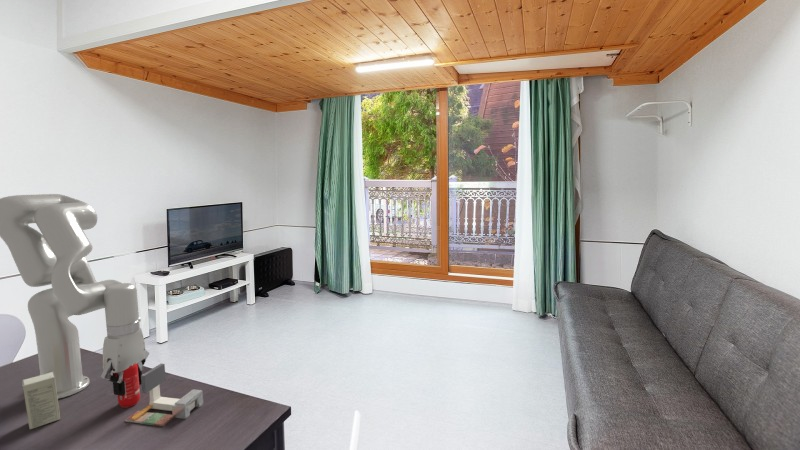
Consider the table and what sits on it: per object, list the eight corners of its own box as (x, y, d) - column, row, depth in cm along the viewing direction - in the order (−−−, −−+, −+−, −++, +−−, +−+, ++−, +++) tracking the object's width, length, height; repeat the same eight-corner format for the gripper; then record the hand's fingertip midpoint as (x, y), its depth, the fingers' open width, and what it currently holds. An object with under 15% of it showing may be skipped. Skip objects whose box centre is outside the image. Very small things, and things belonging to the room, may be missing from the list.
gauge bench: (124, 421, 104) (123, 406, 104) (157, 398, 115) (156, 385, 115) (174, 428, 102) (173, 412, 101) (203, 404, 112) (202, 390, 112)
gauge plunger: (131, 421, 104) (128, 382, 103) (163, 398, 115) (160, 363, 113) (171, 426, 102) (168, 387, 101) (200, 402, 113) (197, 367, 111)
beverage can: (129, 409, 110) (125, 368, 108) (114, 407, 111) (110, 366, 109) (144, 399, 115) (141, 360, 113) (129, 397, 116) (126, 358, 114)
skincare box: (59, 412, 108) (54, 370, 107) (60, 419, 105) (56, 376, 104) (27, 423, 104) (22, 379, 102) (27, 430, 100) (22, 385, 99)
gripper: (137, 316, 119) (141, 373, 121) (82, 339, 102) (89, 404, 105) (158, 318, 118) (163, 375, 120) (107, 341, 101) (113, 407, 103)
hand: (128, 388), depth 112 cm, fingers closed on beverage can, 5 cm apart
